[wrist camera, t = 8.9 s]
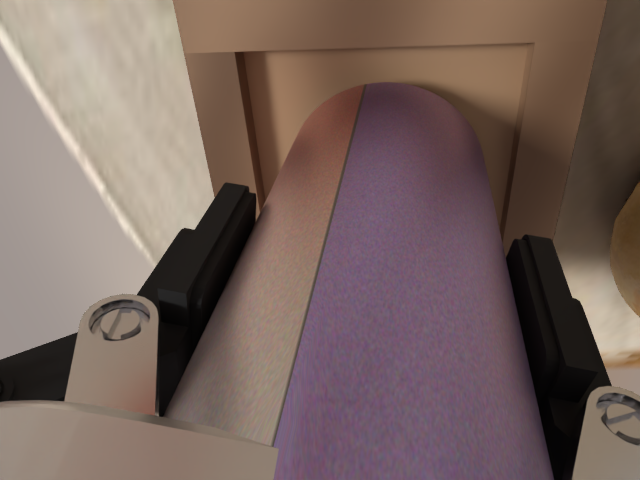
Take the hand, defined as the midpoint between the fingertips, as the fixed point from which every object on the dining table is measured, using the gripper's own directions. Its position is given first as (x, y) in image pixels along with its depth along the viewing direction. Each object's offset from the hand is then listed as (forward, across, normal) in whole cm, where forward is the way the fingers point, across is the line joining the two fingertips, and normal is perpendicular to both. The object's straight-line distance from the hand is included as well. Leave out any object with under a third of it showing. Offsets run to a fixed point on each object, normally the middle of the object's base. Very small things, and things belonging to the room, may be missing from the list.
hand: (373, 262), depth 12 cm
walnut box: (+10, 0, 0) cm, 10 cm away
